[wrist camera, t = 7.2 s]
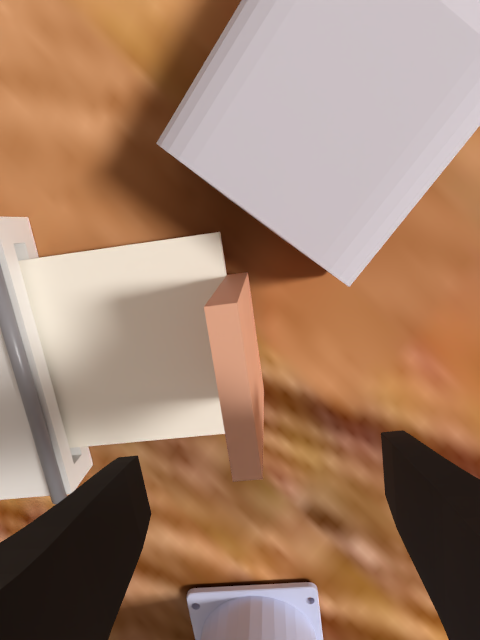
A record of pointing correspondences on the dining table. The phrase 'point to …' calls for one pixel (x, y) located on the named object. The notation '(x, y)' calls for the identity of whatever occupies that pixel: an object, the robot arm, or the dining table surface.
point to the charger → (332, 116)
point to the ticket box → (29, 389)
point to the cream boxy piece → (151, 345)
